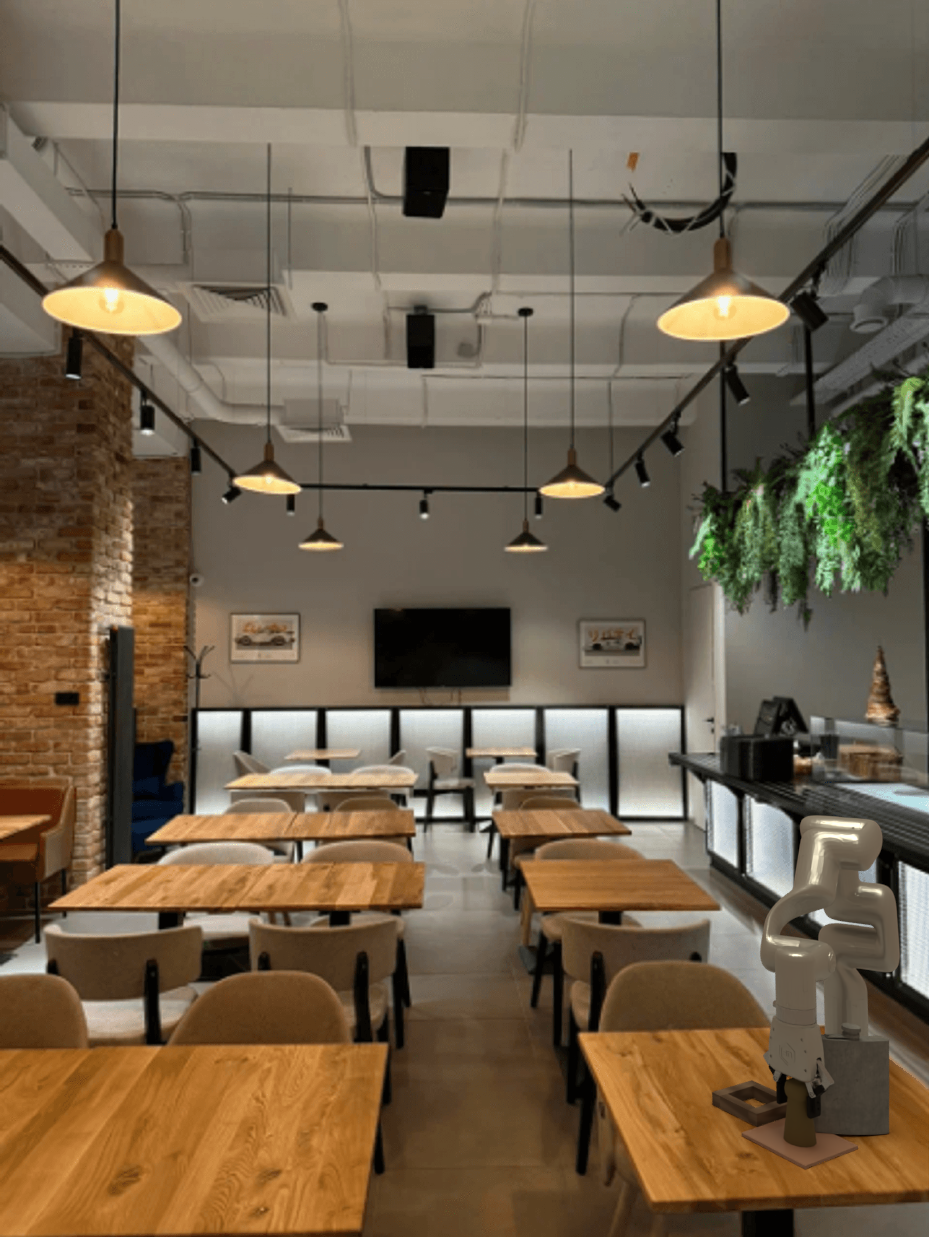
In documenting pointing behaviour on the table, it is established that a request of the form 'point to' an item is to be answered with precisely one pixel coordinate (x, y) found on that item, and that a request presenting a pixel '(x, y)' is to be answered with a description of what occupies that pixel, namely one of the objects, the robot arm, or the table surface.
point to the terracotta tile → (801, 1156)
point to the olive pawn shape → (798, 1115)
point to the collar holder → (735, 1105)
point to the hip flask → (855, 1084)
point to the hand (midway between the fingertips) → (798, 1108)
